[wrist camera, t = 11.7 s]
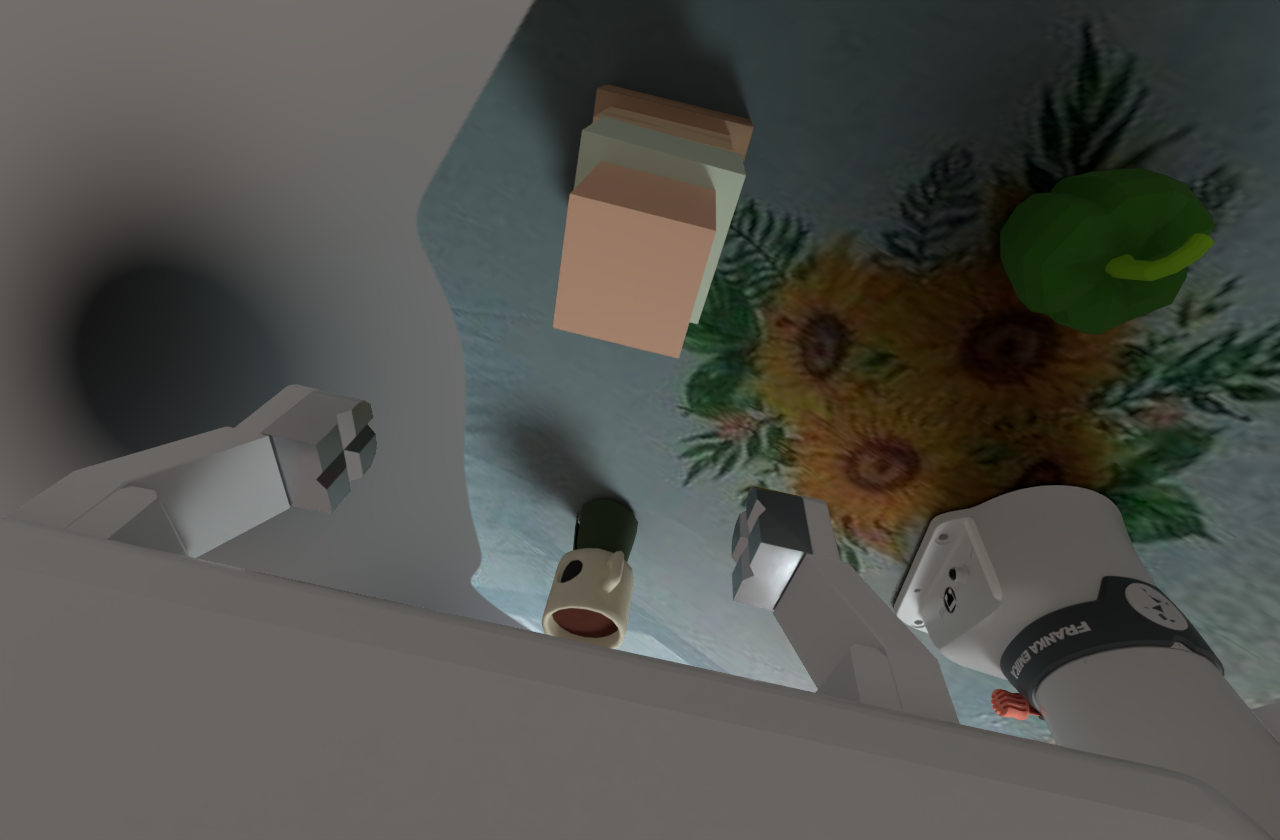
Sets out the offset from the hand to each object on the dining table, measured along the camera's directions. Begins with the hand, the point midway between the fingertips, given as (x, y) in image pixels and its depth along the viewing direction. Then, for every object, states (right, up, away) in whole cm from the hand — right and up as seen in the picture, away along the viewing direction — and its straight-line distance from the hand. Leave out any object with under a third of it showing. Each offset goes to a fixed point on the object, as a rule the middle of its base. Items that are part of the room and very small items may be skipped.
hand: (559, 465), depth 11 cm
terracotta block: (+2, +9, +13) cm, 16 cm away
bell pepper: (+28, +13, +23) cm, 39 cm away
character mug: (-2, -9, +43) cm, 44 cm away
